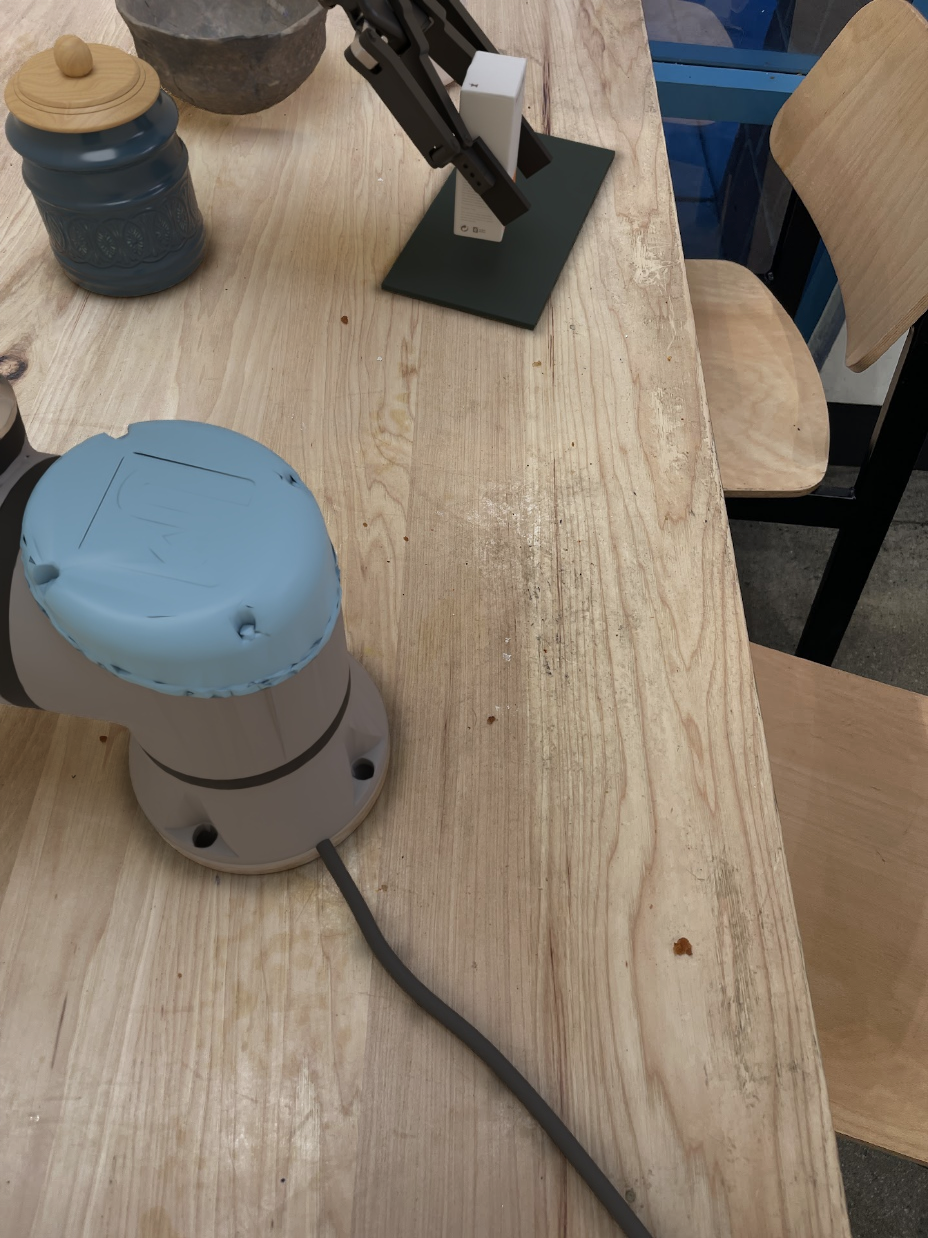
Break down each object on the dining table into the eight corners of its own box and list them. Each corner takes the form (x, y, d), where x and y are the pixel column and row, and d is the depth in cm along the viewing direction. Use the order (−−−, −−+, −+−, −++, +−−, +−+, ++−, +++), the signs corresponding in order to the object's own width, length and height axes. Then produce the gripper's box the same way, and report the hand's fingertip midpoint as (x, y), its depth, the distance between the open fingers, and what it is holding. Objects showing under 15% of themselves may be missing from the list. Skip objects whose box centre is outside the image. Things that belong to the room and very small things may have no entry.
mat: (533, 330, 75) (534, 324, 75) (380, 289, 77) (380, 283, 77) (614, 156, 89) (615, 150, 89) (483, 125, 91) (484, 119, 91)
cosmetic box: (502, 244, 74) (515, 98, 64) (452, 235, 75) (457, 89, 64) (514, 201, 77) (529, 56, 67) (467, 194, 78) (474, 48, 68)
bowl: (184, 29, 99) (162, -78, 90) (362, 56, 97) (357, -50, 89) (108, 129, 88) (74, 18, 80) (307, 161, 87) (294, 52, 78)
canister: (36, 291, 75) (-61, 74, 60) (88, 201, 82) (13, -15, 67) (186, 308, 75) (126, 93, 60) (226, 216, 82) (181, 2, 67)
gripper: (343, -97, 68) (525, 153, 80) (236, 17, 58) (461, 283, 70) (407, -174, 63) (591, 105, 75) (301, -63, 53) (533, 238, 65)
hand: (528, 191), depth 73 cm, fingers closed on cosmetic box, 6 cm apart
